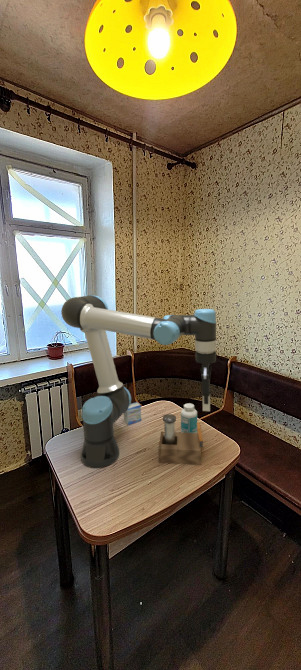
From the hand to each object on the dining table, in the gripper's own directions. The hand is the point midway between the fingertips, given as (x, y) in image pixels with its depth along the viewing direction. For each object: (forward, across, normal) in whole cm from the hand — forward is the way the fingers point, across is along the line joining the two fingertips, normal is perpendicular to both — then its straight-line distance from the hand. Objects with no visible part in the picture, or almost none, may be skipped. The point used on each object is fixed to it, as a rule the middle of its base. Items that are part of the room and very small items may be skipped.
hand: (206, 410), depth 104 cm
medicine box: (+19, +20, +38) cm, 47 cm away
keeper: (+10, 0, +3) cm, 10 cm away
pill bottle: (+20, +15, +9) cm, 27 cm away
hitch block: (+20, -1, +11) cm, 22 cm away
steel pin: (+19, -2, +15) cm, 24 cm away
